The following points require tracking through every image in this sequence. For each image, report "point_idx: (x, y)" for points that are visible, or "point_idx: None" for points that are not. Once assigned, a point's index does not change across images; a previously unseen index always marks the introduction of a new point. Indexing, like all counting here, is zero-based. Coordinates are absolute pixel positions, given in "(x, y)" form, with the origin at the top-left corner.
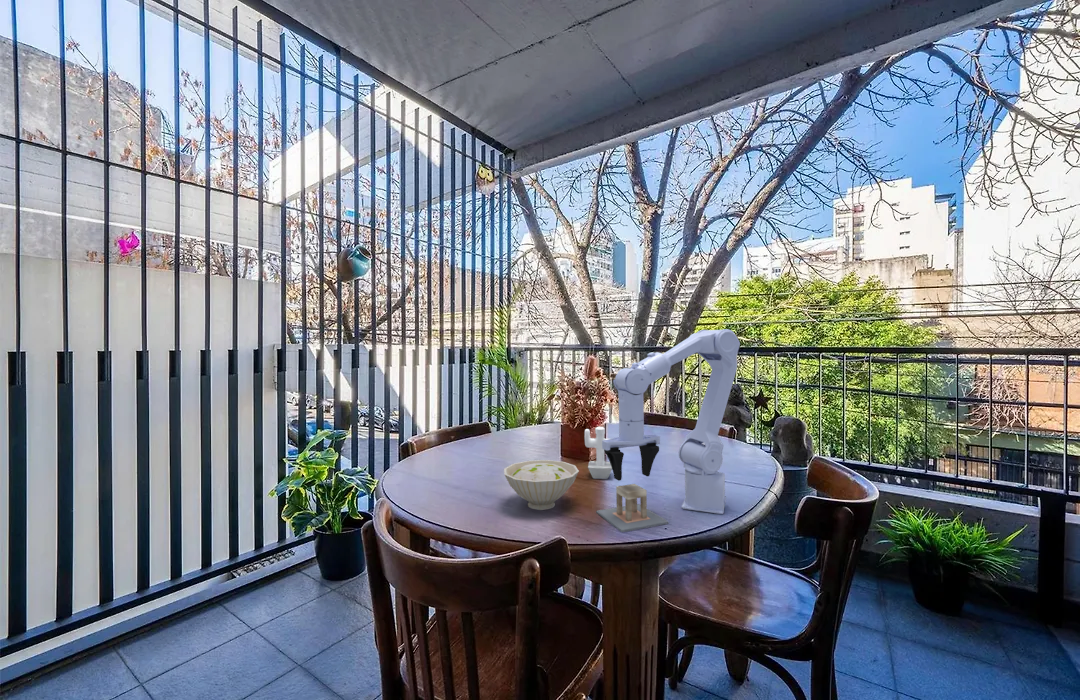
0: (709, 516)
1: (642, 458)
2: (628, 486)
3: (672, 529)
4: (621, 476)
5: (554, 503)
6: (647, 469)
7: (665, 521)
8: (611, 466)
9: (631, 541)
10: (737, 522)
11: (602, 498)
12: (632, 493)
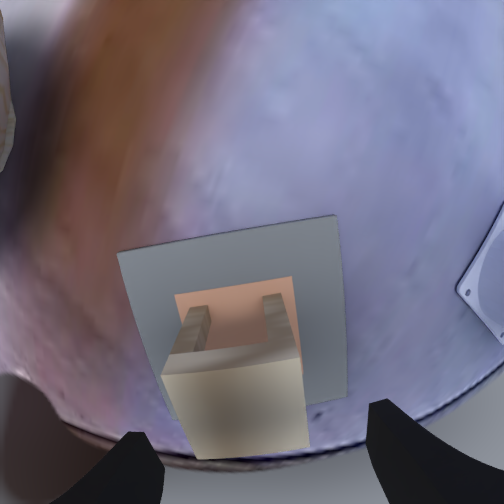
0: (474, 349)
1: (422, 491)
2: (237, 391)
3: (332, 421)
4: (161, 490)
5: (9, 138)
6: (380, 480)
7: (339, 395)
8: (80, 482)
9: (187, 453)
10: (488, 383)
11: (199, 83)
12: (225, 453)
